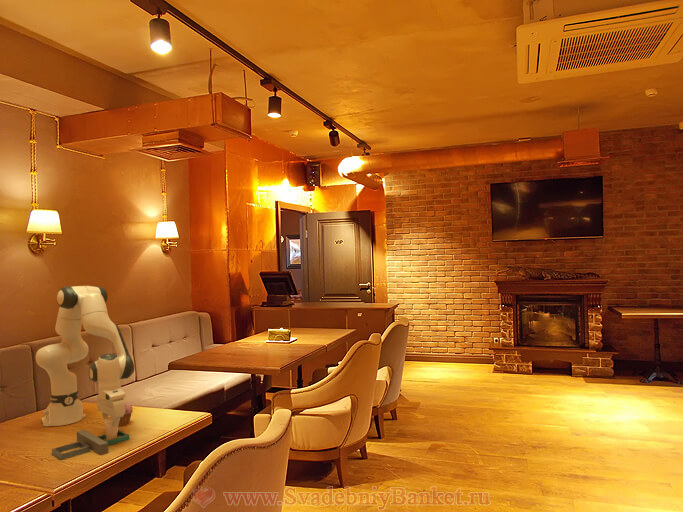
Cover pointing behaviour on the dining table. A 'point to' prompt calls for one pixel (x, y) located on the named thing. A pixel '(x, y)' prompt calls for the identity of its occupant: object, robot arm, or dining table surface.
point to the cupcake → (126, 414)
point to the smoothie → (110, 428)
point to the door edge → (93, 442)
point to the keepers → (86, 446)
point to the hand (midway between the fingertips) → (110, 424)
